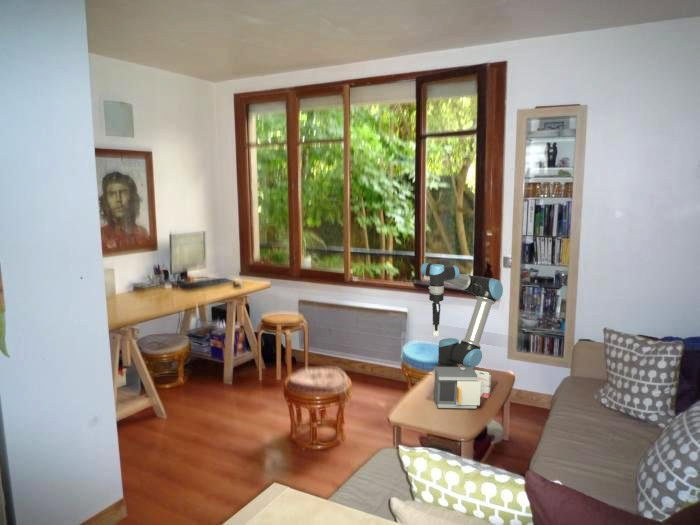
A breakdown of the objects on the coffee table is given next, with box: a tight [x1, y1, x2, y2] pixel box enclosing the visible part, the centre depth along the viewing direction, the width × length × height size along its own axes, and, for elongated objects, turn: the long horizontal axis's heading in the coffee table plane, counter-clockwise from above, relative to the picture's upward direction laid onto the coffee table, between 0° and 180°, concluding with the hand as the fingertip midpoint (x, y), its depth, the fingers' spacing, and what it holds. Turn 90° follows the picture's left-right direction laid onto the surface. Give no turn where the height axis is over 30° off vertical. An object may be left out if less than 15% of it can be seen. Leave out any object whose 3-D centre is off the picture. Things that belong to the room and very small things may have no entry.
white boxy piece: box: [456, 380, 481, 406], centre depth 258 cm, size 6×12×13 cm, turn 89°
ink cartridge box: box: [474, 369, 492, 399], centre depth 278 cm, size 9×5×15 cm, turn 62°
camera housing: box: [433, 366, 478, 410], centre depth 266 cm, size 14×20×19 cm
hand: (435, 335), depth 274 cm, fingers closed
